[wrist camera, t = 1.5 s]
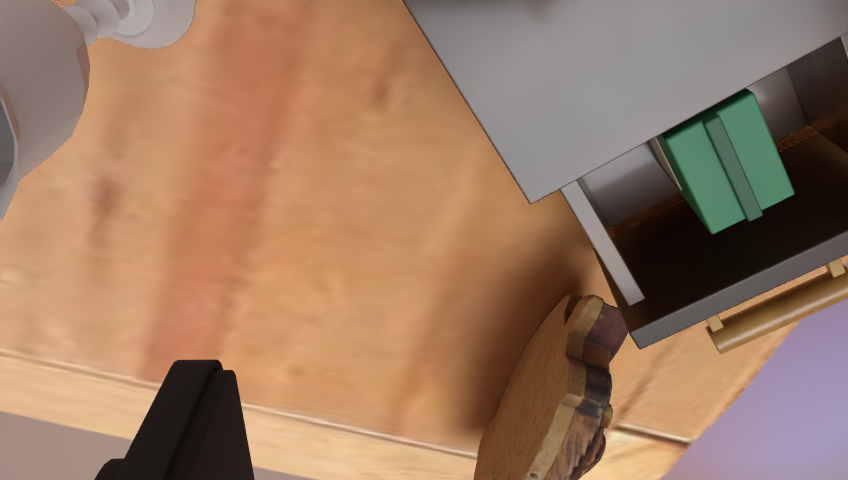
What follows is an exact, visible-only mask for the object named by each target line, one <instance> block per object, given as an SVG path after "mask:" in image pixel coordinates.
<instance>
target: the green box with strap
mask: <svg viewBox="0 0 848 480" xmlns="http://www.w3.org/2000/svg"><path fill="white" fill-rule="evenodd" d="M647 143H648V145H649V147H650V149H651V151H652V153H653V155H654V157H655V159H656V161H657V162H658V164H659V165H660V166H661V168H662V169H663V170H664V172H665V173H666V174H667V176H668V177H669V178H670V180H671V181H672V182H673V184H674V185H675V186H676V188H677V189H678V190H679V192H680V193H681V194H682V196H683V197H684V198H685V200H686V201H687V202H688V204H689V205H690V206H691V208H692V209H693V210H694V212H695V213H696V214H697V216H698V217H699V218H700V220H701V221H702V222H703V224H704V225H705V226H706V228H707V229H708V230H709V232H710V233H711V234H715V233H717V232H719V231H721V230H723V229H725V228H727V227H729V226H731V225H733V224H735V223H737V222H739V221H741V220H743V219H745V218H746V219H747V220H748V221H752V220H754V219H756V218H758V217H760V216H762V215H763V213H762V210H764V209H766V208H768V207H770V206H772V205H774V204H776V203H778V202H780V201H782V200H784V199H786V198H788V197H790V196H792V195H794V190H793V187H792V185H791V183H790V180H789V178H788V175H787V173H786V170H785V168H784V165H783V163H782V160H781V158H780V156H779V153H778V151H777V148H776V146H775V143H774V141H773V138H772V136H771V134H770V131H769V129H768V126H767V124H766V121H765V119H764V116H763V114H762V111H761V109H760V107H759V104H758V102H757V99H756V97H755V94H754V93H753V92H751V91H750V90H748V89H747V88H745V89H743V90H741V91H739V92H737V93H736V94H734V95H732V96H730V97H728V98H726V99H725V100H723V101H721V102H719V103H717V104H715V105H714V106H712V107H710V108H708V109H706V110H704V111H703V112H701V113H699V114H697V115H695V116H693V117H691V118H690V119H688V120H686V121H684V122H682V123H680V124H679V125H677V126H675V127H673V128H671V129H669V130H668V131H666V132H664V133H662V134H660V135H658V136H656V137H655V138H653V139H651V140H649V141H647Z"/></svg>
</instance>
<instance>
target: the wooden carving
mask: <svg viewBox="0 0 848 480" xmlns="http://www.w3.org/2000/svg"><path fill="white" fill-rule="evenodd" d="M627 333H628V329H627V327H626V325H625V322H624V320H623V318H622V315H621V313H620V311H619V308H616V307H614V306H610V305H608V304H606V303H605V302H604V300H603V299H602V298H600V297H598V296H596V295H588V296H586V297H584V298H583V297H581V296H578V295H576V294H574V293H569V294H568V295H567V296H566V297H564V298H563V299H562V300H561V301H560V302H559V303H558V305H557V306H556V307H555V308H554V309H553V310H552V311H551V312H550V313H549V315H548V316H547V317H546V318H545V320H544V321H543V322H542V323H541V325H540V326H539V327H538V329H537V330H536V332H535V333H534V335H533V336H532V338H531V340H530V341H529V343H528V345H527V346H526V347H525V350H524V352H523V354H522V356H521V357H520V359H519V361H518V363H517V365H516V367H515V369H514V371H513V373H512V375H511V377H510V380H509V382H508V385H507V387H506V389H505V392H504V395H503V398H502V401H501V404H500V406H499V408H498V411H497V413H496V415H495V417H494V418H493V420H492V421H491V422H490V424H489V425H488V427H487V429H486V431H485V432H484V434H483V437H482V439H481V442H480V445H479V450H478V458H477V464H476V469H475V474H474V480H579V479H580V478H581V477H582V475H584V474H586V473H587V472H588V471H590V470H591V469H592V468H593V467H594V466H595V465H596V464H597V463H598V462H599V461H600V460H601V458H602V455H603V453H604V451H605V446H606V439H605V436H604V434H603V432H604V428H608V427H609V425H610V424H611V421H612V415H613V409H612V407H611V405H610V404H609V402H610V397H611V390H612V379H611V374H610V373H609V363H610V361H611V360H612V359H613V357H614V356H615V354H616V353H617V351H618V350H619V348H620V347H621V345H622V343H623V342H624V340H625V338H626V336H627Z"/></svg>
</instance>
